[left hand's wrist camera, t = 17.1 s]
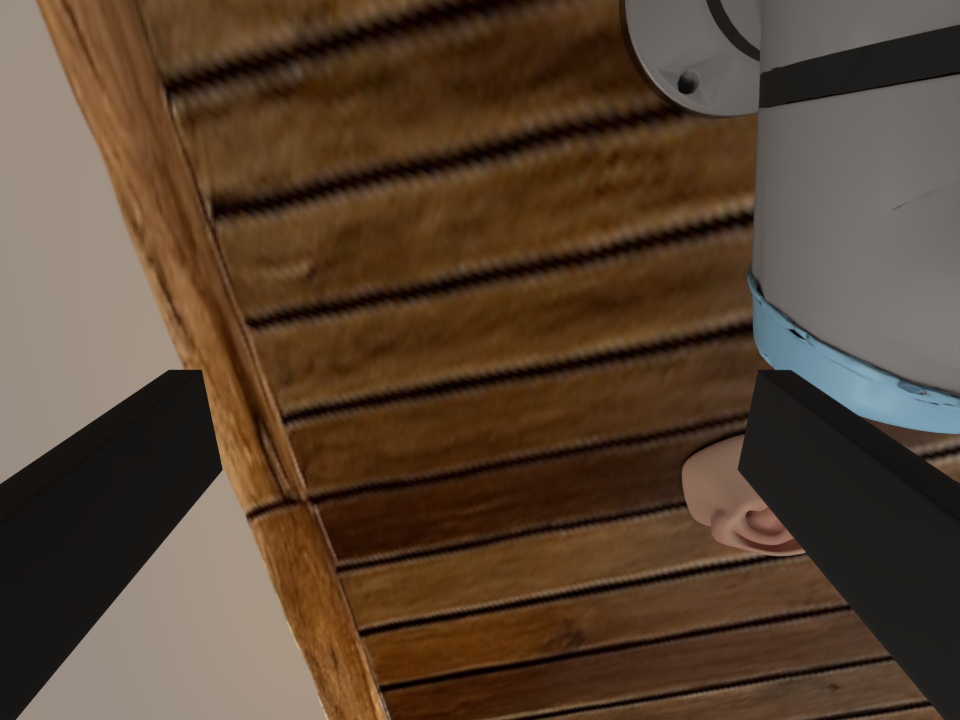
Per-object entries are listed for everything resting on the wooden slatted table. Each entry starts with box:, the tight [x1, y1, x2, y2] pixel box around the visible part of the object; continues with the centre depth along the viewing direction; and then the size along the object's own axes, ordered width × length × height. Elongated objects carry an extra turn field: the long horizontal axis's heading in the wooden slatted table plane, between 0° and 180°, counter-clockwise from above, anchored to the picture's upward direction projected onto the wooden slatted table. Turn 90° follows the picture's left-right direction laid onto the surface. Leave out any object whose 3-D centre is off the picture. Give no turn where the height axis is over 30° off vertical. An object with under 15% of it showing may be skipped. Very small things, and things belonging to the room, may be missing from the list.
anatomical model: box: [682, 434, 806, 556], centre depth 45 cm, size 13×4×12 cm
